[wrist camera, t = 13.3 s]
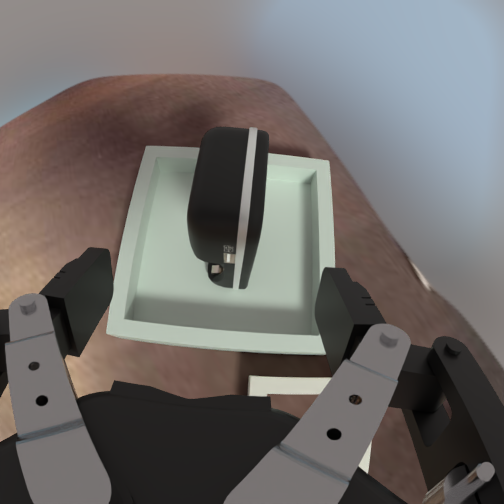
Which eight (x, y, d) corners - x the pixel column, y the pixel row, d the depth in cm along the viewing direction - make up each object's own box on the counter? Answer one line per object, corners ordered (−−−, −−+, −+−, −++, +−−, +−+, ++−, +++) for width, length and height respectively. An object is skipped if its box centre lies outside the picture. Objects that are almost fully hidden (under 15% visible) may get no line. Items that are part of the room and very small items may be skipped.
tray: (119, 337, 23) (106, 333, 20) (152, 165, 29) (146, 145, 26) (322, 355, 24) (335, 352, 21) (320, 179, 30) (329, 160, 27)
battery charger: (208, 207, 27) (201, 109, 16) (254, 212, 27) (271, 115, 16) (196, 288, 24) (175, 224, 14) (246, 294, 24) (263, 233, 14)
